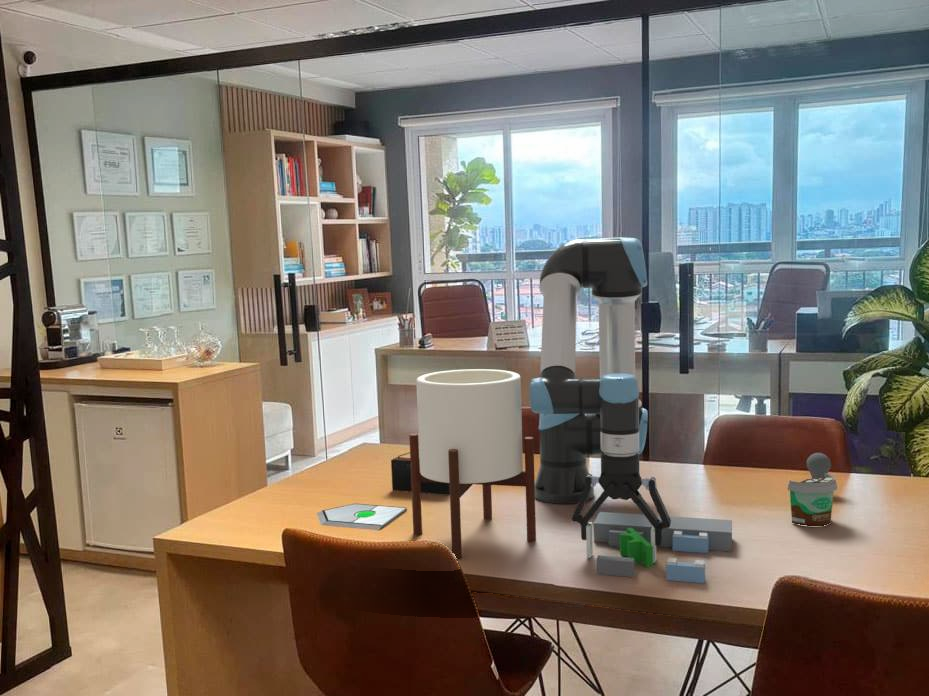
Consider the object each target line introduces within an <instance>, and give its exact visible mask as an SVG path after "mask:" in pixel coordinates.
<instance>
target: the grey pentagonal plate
mask: <svg viewBox="0 0 929 696" xmlns="http://www.w3.org/2000/svg"><path fill="white" fill-rule="evenodd" d="M407 510H408V509H407V507H404V506H403V507H401V506H392V505H377V504H376V505H375V504H365V503H352V504H351V503H350V504H346V505H342V506H337V507H333V508H328V509H323V510H320V511H318V512H316V515H317V517H318V521H319V524H320V526H327V527H328V526H329V527H337V528H338V527H340V528H349V529H359V530H369V531H370V530H372V531H379V530H381V529H382V528H383V527H385V526H387V525H388V524H389V523H390V522H392V521H394V520H395V519H396V518H398V517H399V516H400V515H402V514H403V513H404V512H406V511H407Z"/></svg>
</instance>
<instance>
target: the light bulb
mask: <svg viewBox="0 0 929 696" xmlns="http://www.w3.org/2000/svg"><path fill="white" fill-rule="evenodd" d="M806 467H807V469H808V471H809V474H810V475H811V479H817V478H821V477H824V474H825V473H827V474H829V471H830V470H831V467H832V463H831V459H830V458H829V457H828V456H827V455H826V454H824V453H822V452H815V453H813V454H812V453H811V454H810V456H808V457H807V460H806Z"/></svg>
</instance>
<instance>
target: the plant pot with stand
mask: <svg viewBox="0 0 929 696" xmlns="http://www.w3.org/2000/svg"><path fill="white" fill-rule="evenodd" d="M521 380H522V379H521V375H520V374H519V373H517V372H514V371H512V370H511V371H510V370H503V369H486V368H481V369H480V368H477V369H476V368H475V369H474V368H472V369H470V368H469V369H452V370H442V371H434V372H430V373H425V374H423V375H420V376H418V377H417V378H416V379H415V384H416V386H415V387H416V405H417V406H416V410H417V431H418V433H415V432H414V433H410V434H409V435H408V436H409V438H408V439H409V452H410V453H409V458H410V463H411V487H412V492H411V504H412V505H411V507H412V508H411V509H412V527H413V530H412V531H413V533H412V534H413V535H415V536H420V535H423V523H422V522H423V521H422V520H423V519H422V516H423V515H422V499H421V497H422V495H421V494H422V493H421V491H420V482H435V483H449V484H450V495H449V502H450V503H449V504H450V505H449V506H450V508H449V509H450V530H451V531H450V533H451V536H450V537H451V538H450V539H451V553H452V552H453V553H454V554H455V556H456V558H457V559H458V560H462V558H463V556H462V555H463V553H462V551H463V550H462V549H463V547H462V525H461V524H462V523H461V498H462V497H463V496H464V494H465V493H467V491H468V490H469V489H470V488H471V487H472V486H473V485H479V486H480V485H482V507H483V509H482V511H483V519H484V520H485V521H489V520H490V521H491V520H492V519H493V505H492V497H493V496H492V486H503V487H504V486H507V487H525V509H526V510H525V512H526V517H525V518H526V541H527V542H529V543H533V542H536V541H537V527H536V525H537V524H536V522H537V521H536V498H535V482H536V480H535V479H536V477H535V451H534V450H535V449H534V448H535V446H534V442H535V441H534V437H533V436H525V437H524V439H523V425H522V424H523V423H522V422H523V420H522V418H523V417H522V385H521V382H522V381H521ZM523 440H524V441H523ZM523 442H524V453H523ZM523 454H524V456H523ZM523 459H524V460H523ZM419 461H420V467H419ZM523 462H524V463H523ZM523 464H524V465H523ZM523 470H524V471H523ZM458 560H457V561H458Z"/></svg>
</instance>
